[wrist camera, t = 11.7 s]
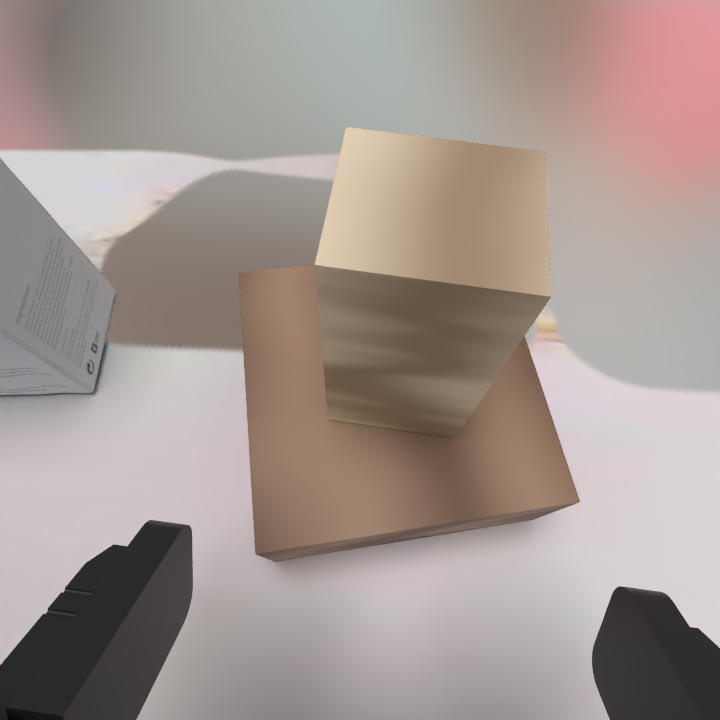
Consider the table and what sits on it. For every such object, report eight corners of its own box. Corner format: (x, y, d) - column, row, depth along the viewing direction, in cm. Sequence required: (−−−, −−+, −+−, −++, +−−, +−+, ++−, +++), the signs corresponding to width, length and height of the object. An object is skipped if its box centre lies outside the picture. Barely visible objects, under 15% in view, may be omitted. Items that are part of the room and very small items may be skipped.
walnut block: (275, 562, 20) (255, 554, 16) (258, 330, 25) (238, 272, 20) (529, 520, 21) (580, 502, 17) (467, 305, 26) (494, 245, 21)
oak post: (327, 419, 18) (314, 265, 10) (345, 324, 19) (346, 126, 11) (454, 438, 17) (551, 296, 9) (460, 340, 19) (545, 151, 11)
